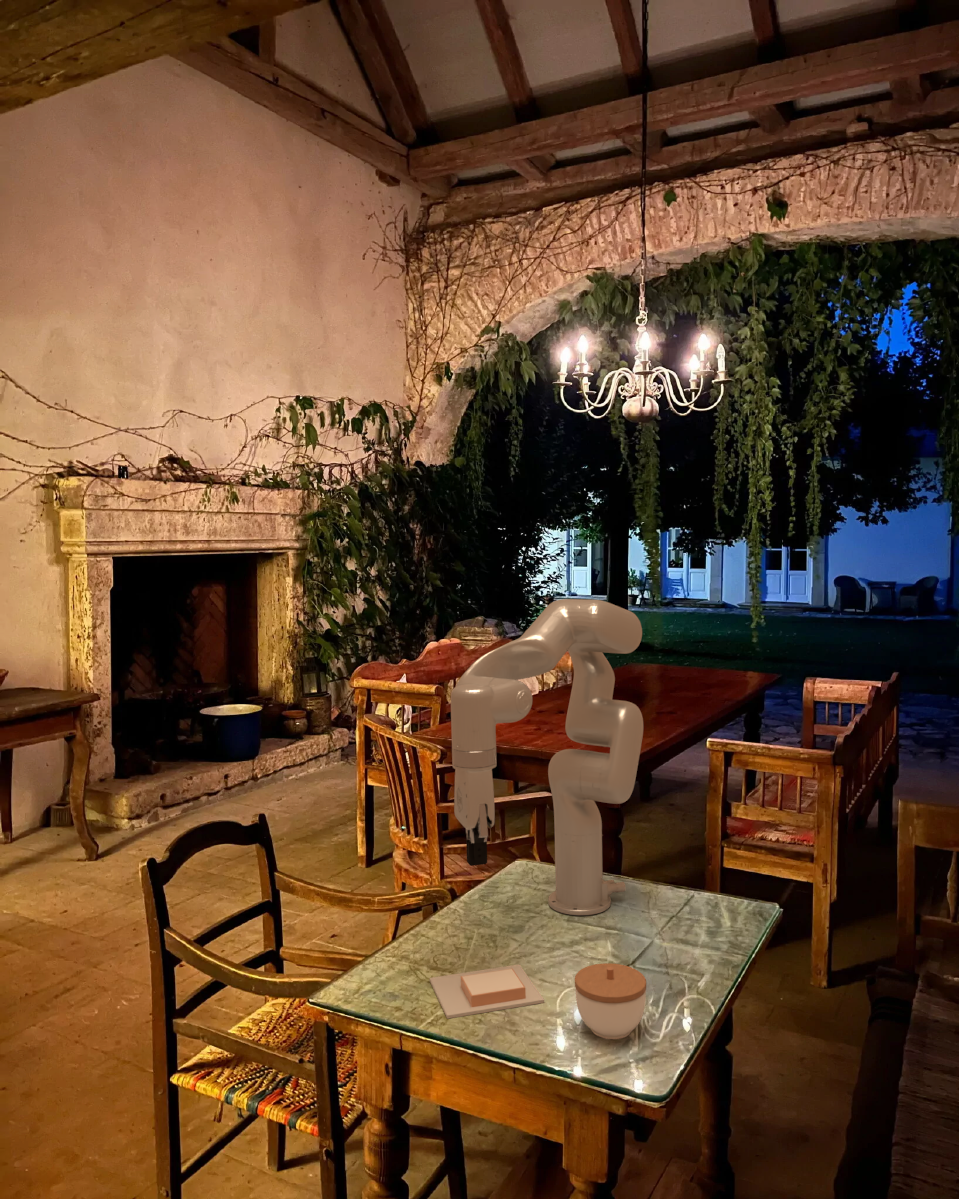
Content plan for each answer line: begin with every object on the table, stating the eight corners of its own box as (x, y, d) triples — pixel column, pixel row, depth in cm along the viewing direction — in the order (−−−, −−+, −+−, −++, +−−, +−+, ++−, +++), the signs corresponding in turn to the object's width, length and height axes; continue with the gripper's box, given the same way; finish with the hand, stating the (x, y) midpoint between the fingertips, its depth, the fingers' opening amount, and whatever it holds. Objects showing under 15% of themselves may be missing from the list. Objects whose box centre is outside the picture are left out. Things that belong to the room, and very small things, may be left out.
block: (512, 968, 154) (525, 987, 148) (512, 978, 154) (525, 998, 148) (460, 976, 152) (471, 995, 145) (460, 986, 152) (471, 1007, 145)
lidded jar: (562, 1034, 138) (561, 974, 137) (595, 1004, 146) (594, 946, 146) (628, 1056, 131) (627, 992, 131) (658, 1022, 140) (657, 963, 140)
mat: (519, 967, 160) (519, 964, 160) (544, 1002, 147) (544, 999, 147) (429, 980, 155) (429, 977, 155) (447, 1018, 143) (447, 1015, 143)
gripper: (442, 750, 162) (445, 852, 163) (463, 769, 148) (466, 881, 149) (483, 746, 164) (486, 847, 165) (508, 765, 150) (511, 875, 151)
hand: (477, 863), depth 157 cm, fingers closed
